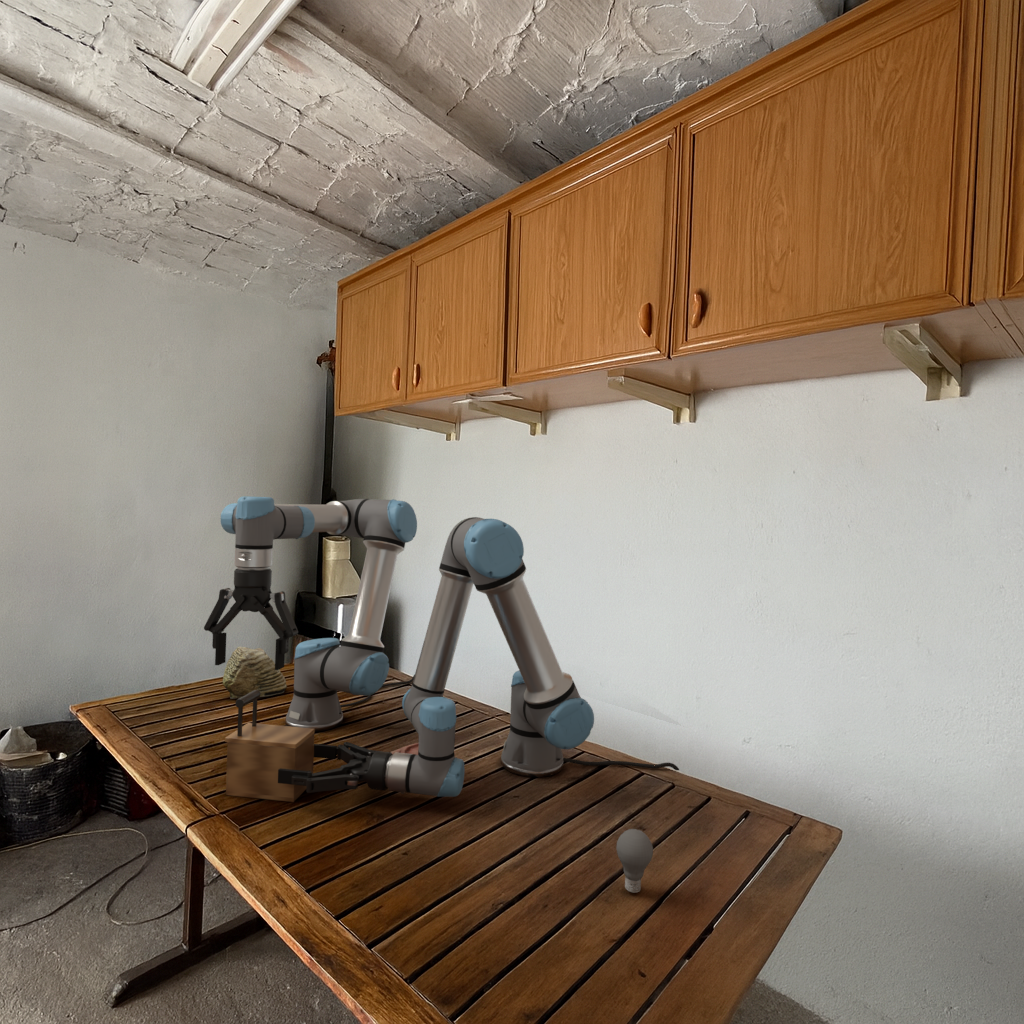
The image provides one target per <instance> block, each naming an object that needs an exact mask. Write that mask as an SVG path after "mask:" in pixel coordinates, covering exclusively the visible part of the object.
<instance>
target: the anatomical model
mask: <svg viewBox="0 0 1024 1024" xmlns="http://www.w3.org/2000/svg"><path fill="white" fill-rule="evenodd" d="M418 749H419V742H415V743H412V744H409V745H405V746H402V747H399V748H398V749H394V750H391V751H390V752H391V753H392V754H394V753H395V752H396V753H407V754H416V755H418Z"/></svg>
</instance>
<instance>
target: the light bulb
mask: <svg viewBox="0 0 1024 1024" xmlns="http://www.w3.org/2000/svg"><path fill="white" fill-rule="evenodd" d="M615 849H616V854H617V857H618V859H619V861H620V863H621V865H622V867H623V873H624V874H623V875H624V876H625V878H624V888H625V890H627V891H628V892H630V893H634V894H635V893H639V892H640V891H641V889H642V887H641V886H642V879H643V877H644V875H645V871H646V868H647V867H648V866H649V864H650V863H651V861H652V859H653V855H654V847H653V843H652V841H651V838H649V836H648V835H647V834H646V833H645V832H643V831H642V830H641V829H636V828H629V829H627V830H625V831H623V832H622V833H621V834H620V835H619V837H618V839H617V841H616V847H615Z"/></svg>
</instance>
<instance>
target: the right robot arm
mask: <svg viewBox="0 0 1024 1024" xmlns="http://www.w3.org/2000/svg"><path fill="white" fill-rule="evenodd" d="M524 553H525V549H524V543H523V539H522V537H521V535H520V533H519V532H518V531H517V530H516V529H515V528H514V527H513V526H512V525H510V524H509V523H507V522H505V521H502V520H500V519H497V518H483V517H478V516H473V517H467V518H464V519H462V520H461V521H459V522H458V523H456V524H455V525H454V526H453V528H452V529H451V531H450V532H449V534H448V537H447V539H446V542H445V546H444V549H443V553H442V557H441V560H440V563H439V567H438V571H439V573H440V574H441V575H440V579H439V583H438V584H439V585H438V588H437V591H436V596H435V599H434V603H433V607H432V610H431V613H430V614H431V615H430V618H429V621H428V625H427V629H426V632H425V636H424V639H423V643H422V646H421V650H420V655H419V658H418V662H417V665H416V669H415V672H414V675H415V676H414V675H413V676H414V680H413V681H412V682H411V686H410V688H409V689H408V690H407V691H406V692H405V693H404V695H403V698H402V700H401V701H402V702H401V707H402V710H403V714H404V716H405V717H406V719H407V720H408V721H409V722H410V723H411V725H412V726H413V728H414V729H415V731H416V733H417V734H418V743H419V749H418V755H416V754H407V753H396V752H395V753H394V754H392V753H391V752H392V751H381V750H373V749H369V748H366V747H363V746H360V745H357V744H354V743H352V742H350V741H344V742H343V744H338V745H332V744H320V743H314V758H319V759H328V760H329V759H330V760H337V761H342V762H344V763H346V764H341V765H340V767H338V768H333V769H328V770H323V771H318V772H313V774H312V772H311V771H301V770H291V769H281V768H280V769H279V770H278V783H282V784H291V785H301V786H307V788H306V790H305V791H306V793H307V794H312V793H320V792H329V791H330V792H331V791H339V790H356V789H358V787H359V785H358V784H359V782H366V784H367V787H368V788H369V789H370V790H375V791H387V790H388V791H389V792H398V793H400V794H402V795H404V794H405V793H406V794H407V793H408V794H415V795H416V794H417V795H427V796H434V797H438V798H440V797H441V798H442V797H443V798H454V797H458V796H459V795H460V794H461V792H462V790H463V786H464V782H465V781H464V780H465V771H466V769H465V761H464V760H463V758H459V757H456V756H455V755H456V754H455V743H456V742H455V741H456V725H457V719H458V717H457V706H456V703H455V701H454V700H452V699H451V698H448V697H444V693H445V689H446V685H447V682H448V678H449V675H450V670H451V667H452V663H453V661H454V660H453V659H454V657H455V653H456V652H455V651H456V649H457V646H458V641H459V639H460V634H461V631H462V627H463V624H464V620H465V616H466V614H467V609H468V607H469V606H468V605H469V601H470V599H471V595H472V591H473V587H475V590H476V591H477V592H480V593H481V594H485V595H486V597H487V600H488V601H489V604H490V606H491V609H492V611H493V613H494V615H495V617H496V620H497V623H498V625H499V627H500V629H501V632H502V635H503V636H504V638H505V641H506V643H507V645H508V647H509V649H510V652H511V654H512V656H513V659H514V661H515V663H516V667H517V668H518V670H517V671H515V672H514V673H513V674H512V677H511V678H512V679H511V684H510V688H511V690H510V692H511V694H510V718H509V719H510V720H509V732H508V735H507V738H506V739H505V740H504V743H503V747H502V748H503V749H502V751H501V756H500V764H501V767H503V768H504V769H505V770H506V771H508V772H510V773H512V774H514V775H519V776H521V777H522V776H523V777H531V778H543V777H550V776H554V775H556V774H558V773H560V772H561V771H562V770H563V768H564V763H570V764H575V765H576V764H577V765H580V766H590V767H596V766H598V767H600V766H601V767H602V766H627V767H635V768H644V769H662V768H668V767H669V768H672V769H673V770H674V771H680V768H679V767H678V766H677V765H676V764H674V763H673V762H661V763H654V764H653V763H643V762H635V761H626V760H625V761H623V760H604V761H603V760H602V761H586V760H580V759H575V758H569V757H564V753H563V751H562V750H573V749H575V748H577V747H579V746H581V745H582V744H583V743H584V742H585V741H586V740H587V739H588V737H590V734H591V731H592V729H593V727H594V724H595V713H594V710H593V708H592V706H591V705H590V703H589V702H588V701H587V700H586V699H585V698H582V697H581V695H580V693H579V690H578V688H577V686H576V684H575V681H574V679H573V676H572V675H571V674H569V673H567V672H564V671H563V670H562V668H561V665H560V663H559V661H558V659H557V657H556V653H555V652H554V649H553V646H552V644H551V642H550V640H549V638H548V634H547V632H546V630H545V627H544V625H543V622H542V621H541V618H540V616H539V613H538V611H537V609H536V606H535V604H534V602H533V599H532V597H531V594H530V591H529V590H528V587H527V585H526V582H525V580H524V576H525V575H526V572H527V567H526V564H525V562H524V559H523V557H524ZM654 765H655V766H654Z"/></svg>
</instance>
